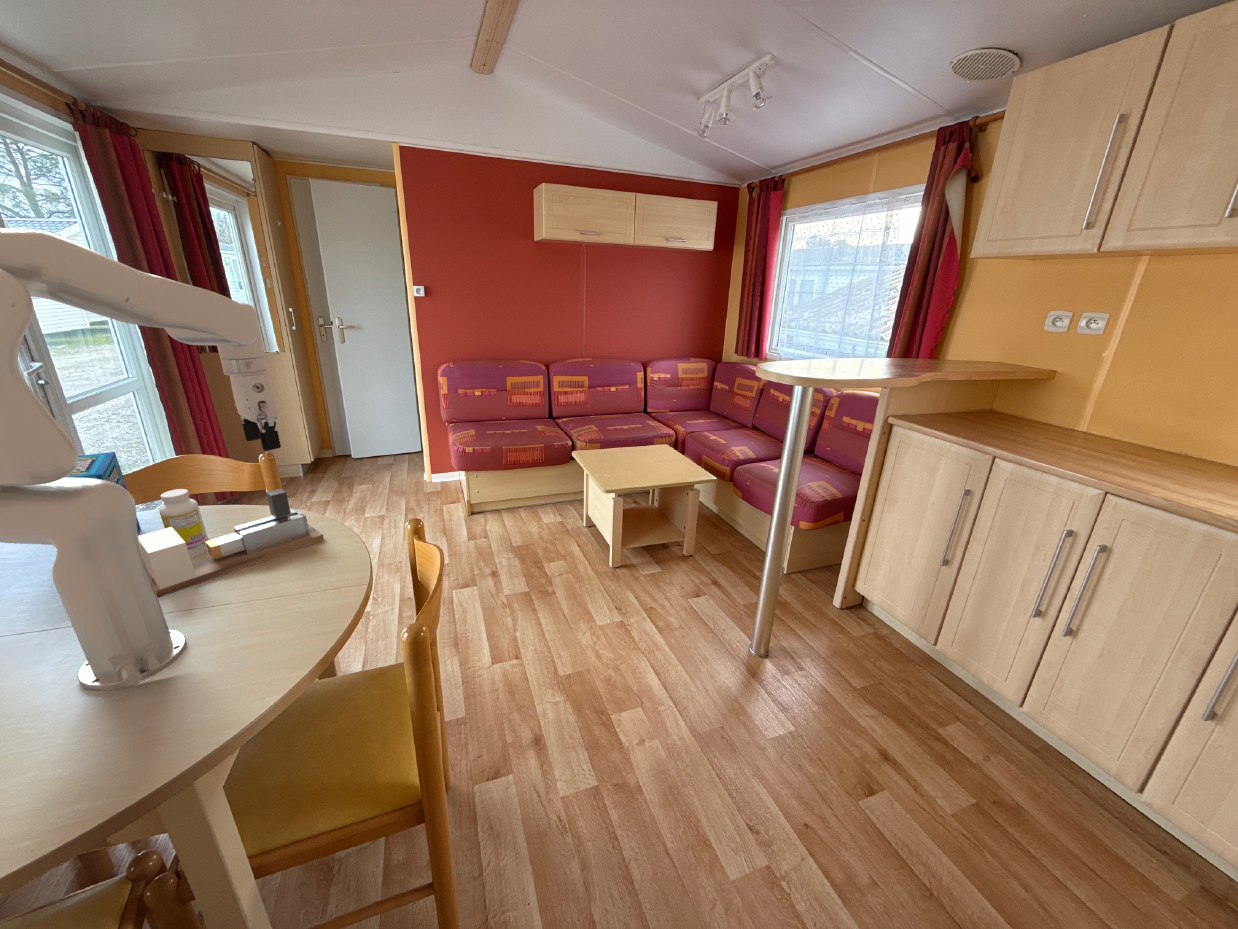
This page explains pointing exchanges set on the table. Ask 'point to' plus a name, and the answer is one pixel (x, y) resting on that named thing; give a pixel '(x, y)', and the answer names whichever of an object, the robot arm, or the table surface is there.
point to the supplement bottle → (183, 517)
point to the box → (101, 470)
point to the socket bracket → (166, 557)
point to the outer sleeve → (272, 531)
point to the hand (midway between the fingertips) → (263, 444)
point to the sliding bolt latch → (235, 540)
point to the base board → (236, 561)
